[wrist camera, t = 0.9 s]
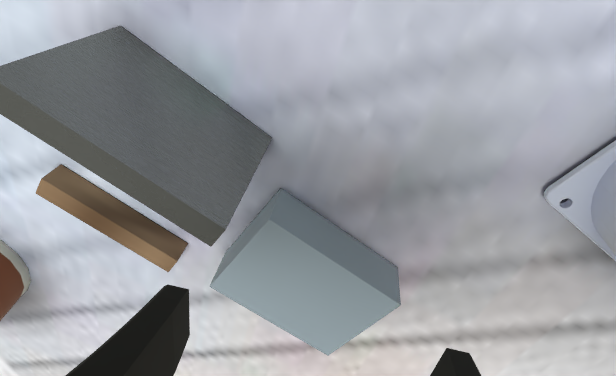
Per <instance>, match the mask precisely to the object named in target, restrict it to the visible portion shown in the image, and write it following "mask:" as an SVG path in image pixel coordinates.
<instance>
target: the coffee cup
mask: <svg viewBox="0 0 616 376" xmlns="http://www.w3.org/2000/svg"><path fill="white" fill-rule="evenodd" d="M30 282H31V278H30V274H29V270H28V267H27V266H26V265H25V263H24V262H23V261H22V259H21V258H20V256H19V255H18V254H17V253H16V252H15V251H14V250H12V249H11V248H10V247H9V246H8V245H6V244H5V243H4V242H3V241H2V240H0V321H1V319H2V318H3V317H4V316H5V315H6V314H7V312H8V311H9V310H10V309H11V308H12V306H13V305H14V304H15V303H16V302H17V300H18V299H19V298H20V297H21V296H22V295H23V294H24V293H25V292H26V291H27V290H28V287H29V285H30Z"/></svg>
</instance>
